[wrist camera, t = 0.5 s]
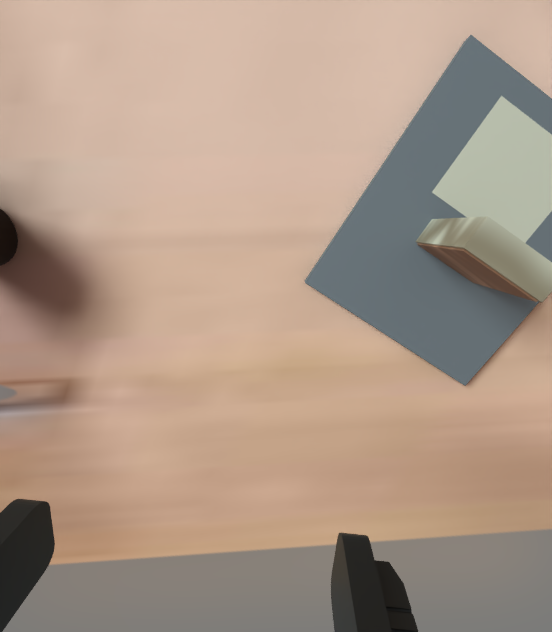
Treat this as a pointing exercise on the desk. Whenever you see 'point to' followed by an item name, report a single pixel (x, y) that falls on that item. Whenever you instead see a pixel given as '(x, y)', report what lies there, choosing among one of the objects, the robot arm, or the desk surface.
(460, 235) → the birch tile
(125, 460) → the desk surface
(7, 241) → the coffee mug
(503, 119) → the rubber mat
